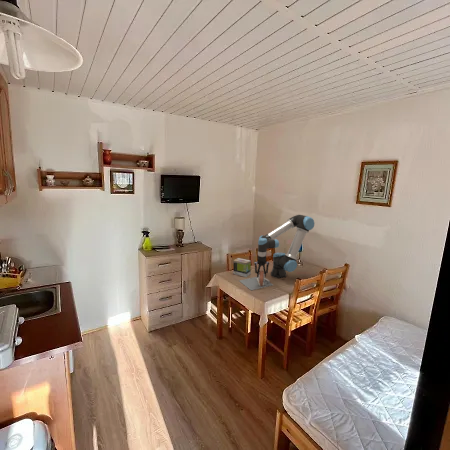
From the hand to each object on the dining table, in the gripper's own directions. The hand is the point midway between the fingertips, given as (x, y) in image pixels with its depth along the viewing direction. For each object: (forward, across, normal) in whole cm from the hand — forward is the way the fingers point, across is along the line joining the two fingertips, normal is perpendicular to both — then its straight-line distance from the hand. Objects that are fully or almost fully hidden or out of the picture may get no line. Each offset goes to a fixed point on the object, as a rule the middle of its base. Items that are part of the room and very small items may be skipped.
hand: (261, 280), depth 228 cm
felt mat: (+5, -4, +6) cm, 8 cm away
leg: (+4, 0, +4) cm, 6 cm away
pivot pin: (+5, 0, +12) cm, 13 cm away
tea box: (+6, -13, +28) cm, 31 cm away
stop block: (+5, +6, +6) cm, 10 cm away
